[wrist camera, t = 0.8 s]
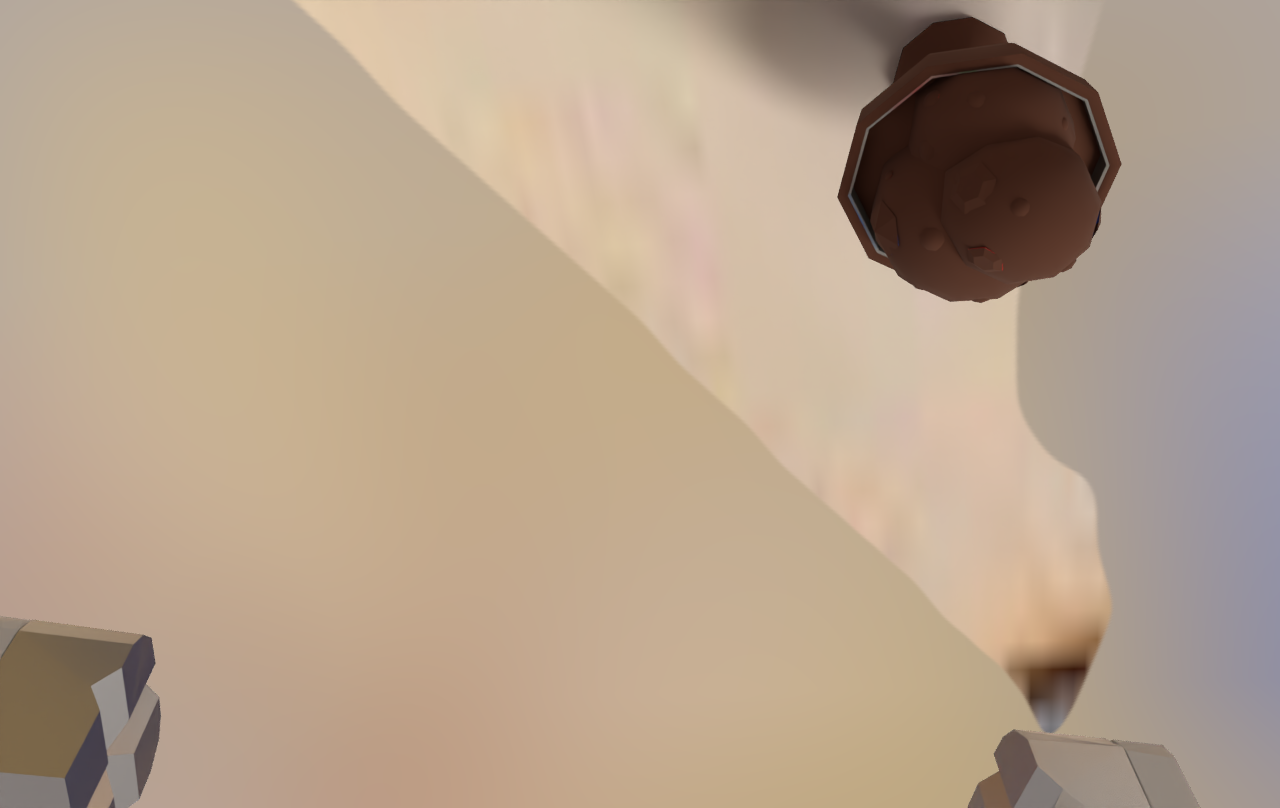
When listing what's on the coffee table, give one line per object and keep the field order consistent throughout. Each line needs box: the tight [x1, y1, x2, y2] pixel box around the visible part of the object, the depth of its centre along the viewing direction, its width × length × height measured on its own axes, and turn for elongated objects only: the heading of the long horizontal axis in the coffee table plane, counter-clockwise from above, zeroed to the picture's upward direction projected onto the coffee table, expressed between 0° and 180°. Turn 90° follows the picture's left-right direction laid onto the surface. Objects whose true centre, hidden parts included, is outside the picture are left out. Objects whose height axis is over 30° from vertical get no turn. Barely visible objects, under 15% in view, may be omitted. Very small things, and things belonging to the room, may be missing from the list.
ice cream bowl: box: [838, 17, 1121, 303], centre depth 47 cm, size 11×11×15 cm
